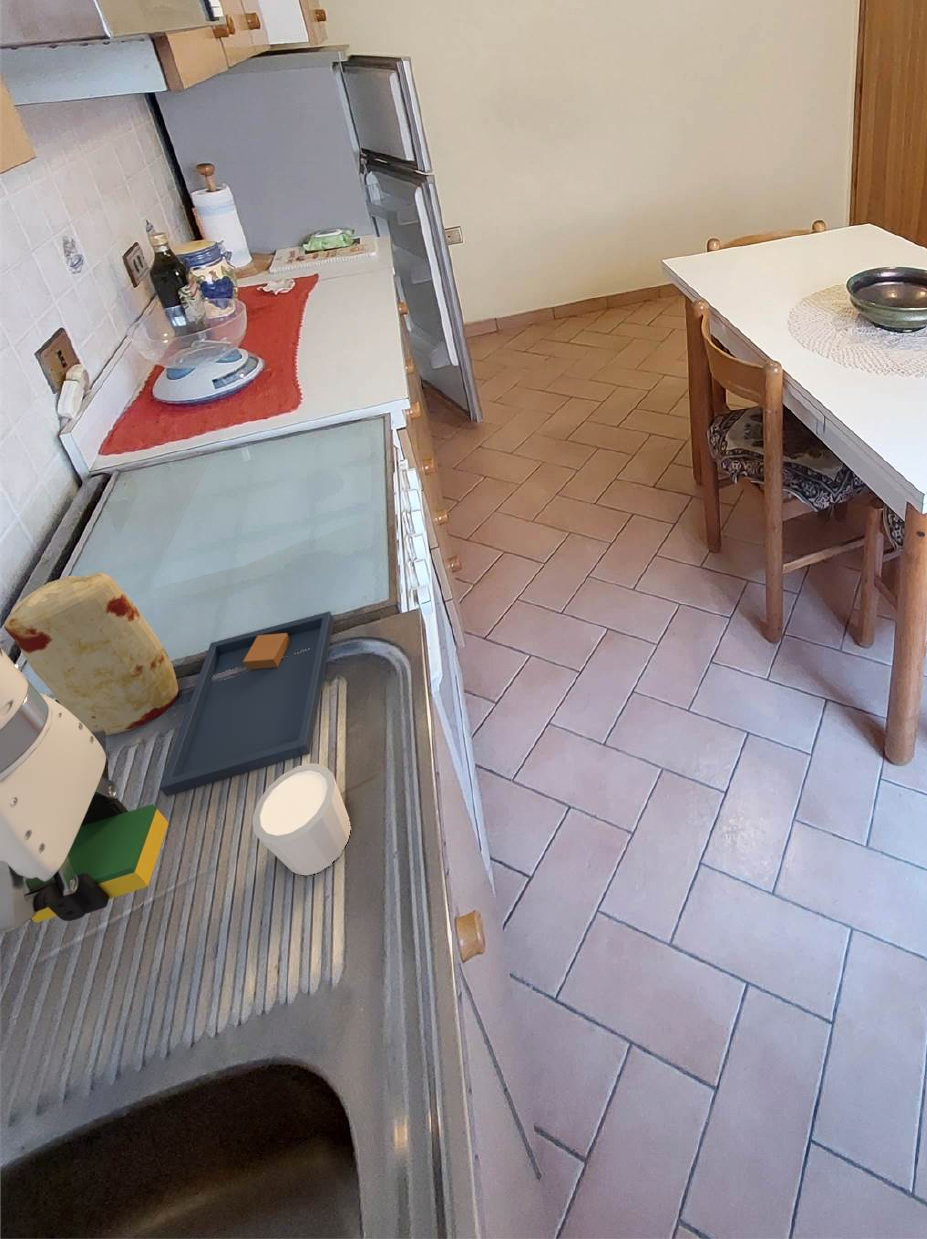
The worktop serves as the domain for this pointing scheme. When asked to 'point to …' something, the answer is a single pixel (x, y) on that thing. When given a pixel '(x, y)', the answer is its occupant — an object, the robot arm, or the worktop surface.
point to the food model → (94, 652)
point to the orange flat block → (267, 651)
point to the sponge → (117, 852)
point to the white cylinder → (303, 819)
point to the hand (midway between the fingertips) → (101, 868)
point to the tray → (251, 708)
